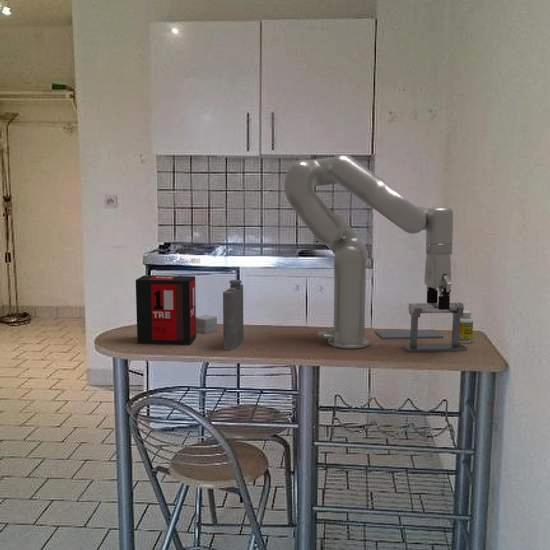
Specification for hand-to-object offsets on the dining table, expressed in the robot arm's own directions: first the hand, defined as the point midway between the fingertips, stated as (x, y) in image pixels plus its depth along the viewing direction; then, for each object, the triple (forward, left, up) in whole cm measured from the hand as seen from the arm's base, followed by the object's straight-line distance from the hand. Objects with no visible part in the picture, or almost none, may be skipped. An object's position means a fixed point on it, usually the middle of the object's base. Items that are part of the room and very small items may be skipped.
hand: (437, 306), depth 191 cm
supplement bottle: (+12, +8, -13) cm, 20 cm away
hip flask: (-60, +11, -13) cm, 62 cm away
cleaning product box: (-81, +17, -13) cm, 84 cm away
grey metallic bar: (-1, 0, -1) cm, 1 cm away
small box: (-69, +29, -13) cm, 76 cm away
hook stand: (-1, 0, -13) cm, 13 cm away
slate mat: (-3, +17, -13) cm, 22 cm away
